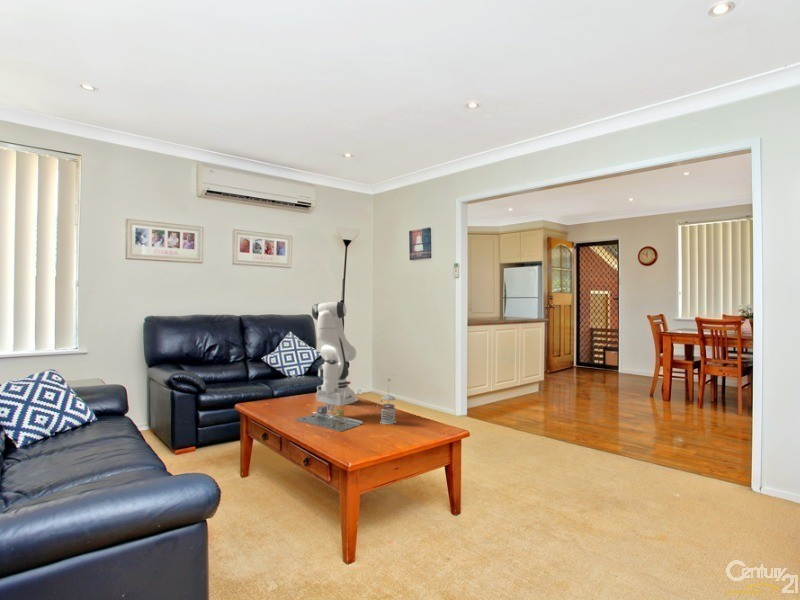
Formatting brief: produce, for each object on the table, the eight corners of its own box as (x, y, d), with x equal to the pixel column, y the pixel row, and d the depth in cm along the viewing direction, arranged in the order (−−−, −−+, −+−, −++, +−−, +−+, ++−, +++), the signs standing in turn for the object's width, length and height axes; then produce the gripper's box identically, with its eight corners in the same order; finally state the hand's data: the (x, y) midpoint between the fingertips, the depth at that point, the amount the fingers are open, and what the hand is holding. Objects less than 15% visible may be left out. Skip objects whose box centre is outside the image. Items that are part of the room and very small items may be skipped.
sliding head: (338, 414, 270) (339, 409, 270) (343, 416, 267) (343, 410, 267) (327, 418, 262) (327, 411, 262) (332, 419, 260) (332, 413, 260)
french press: (394, 425, 256) (395, 380, 256) (374, 423, 258) (375, 379, 258) (398, 420, 266) (399, 377, 266) (378, 419, 268) (379, 376, 268)
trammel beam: (321, 413, 279) (321, 405, 279) (363, 423, 258) (363, 414, 258) (309, 416, 271) (309, 408, 271) (352, 427, 251) (352, 418, 251)
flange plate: (313, 415, 275) (313, 414, 275) (358, 425, 254) (358, 424, 254) (295, 419, 264) (295, 418, 264) (340, 431, 242) (340, 430, 242)
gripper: (347, 389, 267) (346, 413, 267) (322, 384, 279) (322, 407, 279) (339, 391, 262) (339, 415, 262) (314, 386, 274) (314, 409, 274)
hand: (330, 411), depth 271 cm, fingers closed
